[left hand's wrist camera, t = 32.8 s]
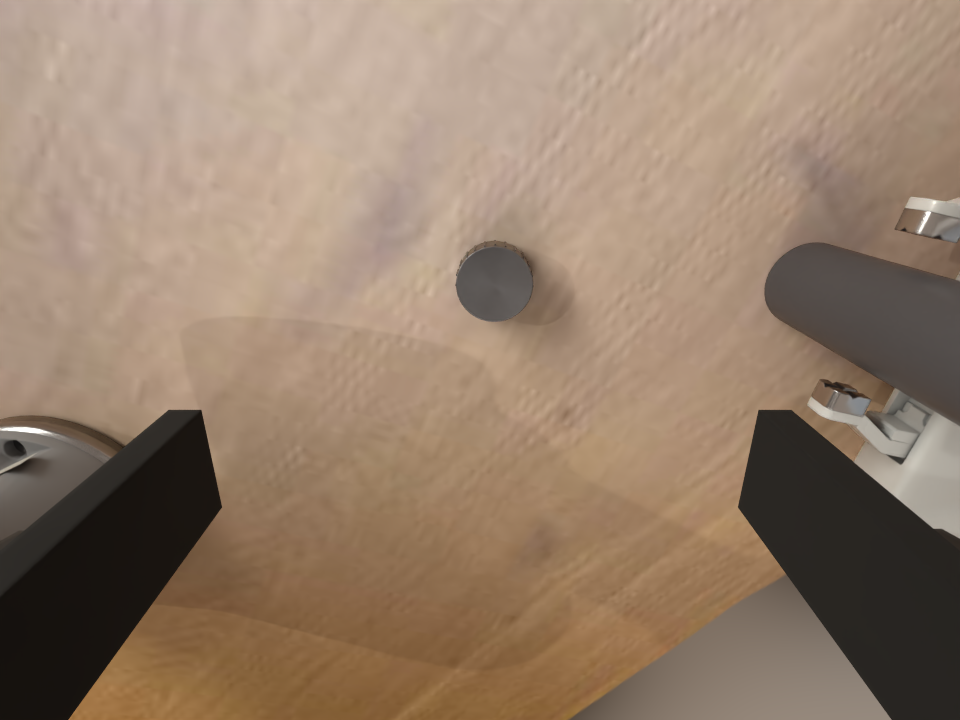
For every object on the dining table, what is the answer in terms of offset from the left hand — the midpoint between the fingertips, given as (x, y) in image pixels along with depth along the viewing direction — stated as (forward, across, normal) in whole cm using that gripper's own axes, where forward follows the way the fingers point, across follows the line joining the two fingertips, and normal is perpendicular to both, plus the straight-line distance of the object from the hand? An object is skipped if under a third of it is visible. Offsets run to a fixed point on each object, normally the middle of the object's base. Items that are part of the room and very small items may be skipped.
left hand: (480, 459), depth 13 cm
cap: (+18, +1, 0) cm, 18 cm away
